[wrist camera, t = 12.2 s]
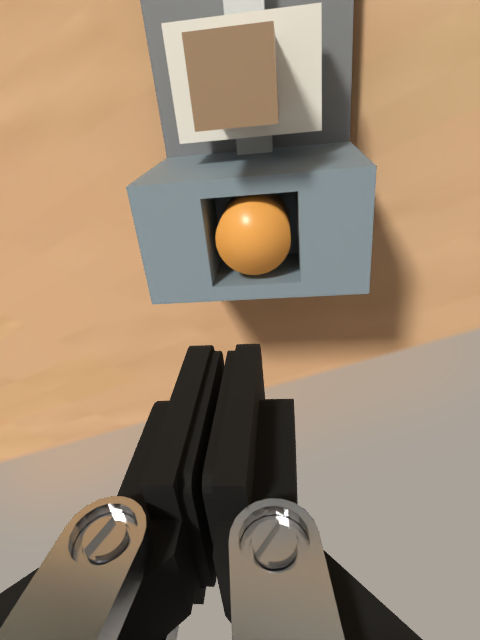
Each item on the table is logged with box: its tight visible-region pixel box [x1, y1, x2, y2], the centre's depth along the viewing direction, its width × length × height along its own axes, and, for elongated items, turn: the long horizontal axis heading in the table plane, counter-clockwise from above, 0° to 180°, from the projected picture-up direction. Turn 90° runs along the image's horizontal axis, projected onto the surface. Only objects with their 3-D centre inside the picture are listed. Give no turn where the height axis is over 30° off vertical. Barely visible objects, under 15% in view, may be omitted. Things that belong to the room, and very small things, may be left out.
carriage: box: [161, 3, 322, 144], centre depth 19 cm, size 7×5×10 cm
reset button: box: [215, 193, 291, 275], centre depth 22 cm, size 4×4×3 cm
